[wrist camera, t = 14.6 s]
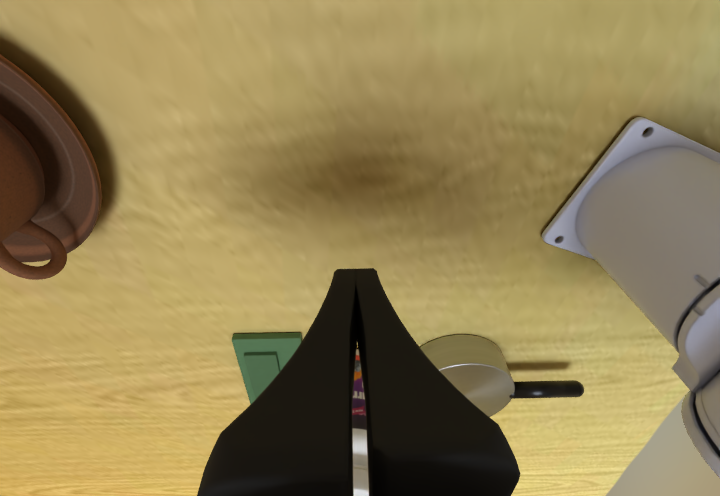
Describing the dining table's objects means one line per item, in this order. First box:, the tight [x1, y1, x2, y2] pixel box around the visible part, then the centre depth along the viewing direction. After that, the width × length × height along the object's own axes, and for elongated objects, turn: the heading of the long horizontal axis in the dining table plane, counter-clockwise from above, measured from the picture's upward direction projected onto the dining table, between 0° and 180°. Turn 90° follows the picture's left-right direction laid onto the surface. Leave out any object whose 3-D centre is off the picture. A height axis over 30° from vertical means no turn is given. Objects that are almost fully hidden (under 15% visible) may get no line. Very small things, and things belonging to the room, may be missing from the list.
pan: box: [420, 335, 584, 417], centre depth 30 cm, size 14×8×3 cm, turn 90°
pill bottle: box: [352, 349, 369, 496], centre depth 26 cm, size 5×5×10 cm
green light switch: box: [232, 333, 302, 404], centre depth 30 cm, size 5×9×1 cm, turn 0°
